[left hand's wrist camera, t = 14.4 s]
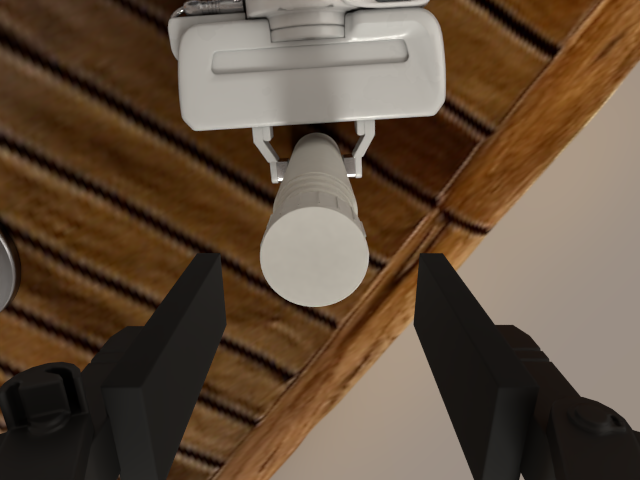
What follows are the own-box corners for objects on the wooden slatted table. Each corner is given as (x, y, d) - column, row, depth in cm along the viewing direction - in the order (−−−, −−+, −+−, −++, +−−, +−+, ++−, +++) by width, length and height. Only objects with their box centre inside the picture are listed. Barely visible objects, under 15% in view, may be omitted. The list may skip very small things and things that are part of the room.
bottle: (294, 130, 40) (260, 196, 16) (342, 134, 40) (377, 206, 16) (291, 177, 41) (256, 300, 18) (337, 181, 42) (363, 308, 18)
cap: (267, 185, 18) (260, 200, 16) (369, 194, 18) (377, 209, 16) (263, 278, 20) (256, 303, 17) (357, 285, 20) (363, 311, 18)
